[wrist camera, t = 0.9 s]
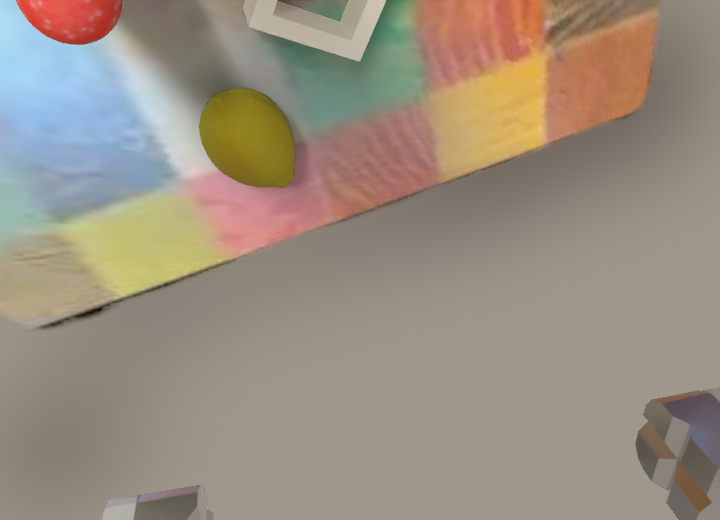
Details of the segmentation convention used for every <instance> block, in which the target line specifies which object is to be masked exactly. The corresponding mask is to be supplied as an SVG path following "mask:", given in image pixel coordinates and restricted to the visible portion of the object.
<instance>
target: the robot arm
mask: <svg viewBox="0 0 720 520" xmlns="http://www.w3.org/2000/svg"><path fill="white" fill-rule="evenodd" d="M643 415H644V416H645V417H646V419H647V420H648V422H647V423H646V424H645V425H644V426H643V427H642V428H641V429H640V430H639V431H638V435H637V439H636V443H635V444H636V449H637V455H638V459H639V461H640V463H641V465H642V468H643V470H644V471H645V473H646V474H647V475H648V477H649V478H650V480H651V481H652V482H653V483H655V484H657V485H659V486H661V487H662V488H664V489H666V490H667V498H666V500H667V501H666V502H667V504H668V506H669V507H670V508H671V510H672V511H673V513H674V514H675V515H676V517H677V518H678V519H679V520H720V387H718V388H713V389H707V390H702V391H693V392H688V393H683V394H678V395H673V396H668V397H663V398H658V399H653V400H651V401H650V402H649V403H648V404H646V407H645V410H644V413H643ZM102 520H215V518H214V515H213V513H212V512H211V511H209V510H207V494H206V491H205V489H204V486H203V485H197V486H191V487H185V488H179V489H173V490H166V491H160V492H154V493H147V494H142V495H135V496H129V497H124V498H119V499H113V500H109V502H108V504H107V506H106V508H105V510H104V513H103V517H102Z"/></svg>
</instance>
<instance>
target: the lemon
mask: <svg viewBox="0 0 720 520" xmlns="http://www.w3.org/2000/svg"><path fill="white" fill-rule="evenodd" d="M199 129H200V136H201V140H202V144H203V146H204V148H205V150H206V152H207V155H208V156H209V158H210V159H211V161H212V162H213V164H214V165H215V166H216V167H217V168H218V169H219V170H220V171H221V172H223V173H224V174H226V175H227V176H229V177H230V178H232V179H234V180H236V181H238V182H240V183H243V184H246V185H250V186H256V187H285V186H287V185H288V184H289V183H291V181H292V180H293V178H294V174H295V168H294V162H295V144H294V138H293V134H292V130H291V128H290V125H289V122H288V120H287V119H286V117H285V115H284V114H283V112H282V111H281V110H280V109H279V108H278V107H277V105H276V104H275V103H274V102H273V101H272V100H271V99H270V98H269V97H267V96H266V95H264V94H262V93H260V92H258V91H256V90H253V89H248V88H233V89H229V90H226V91H223V92H221V93H218V94H214V95H213V96H212V99H211V100H210V101H209V102H208V103H207V105H206V107H205V109H204V111H203V113H202V115H201V119H200V124H199Z"/></svg>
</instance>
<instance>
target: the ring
mask: <svg viewBox="0 0 720 520" xmlns="http://www.w3.org/2000/svg"><path fill="white" fill-rule="evenodd" d="M385 2H386V0H348V2H347V4H346V7H345V9H344V12H343V15H342V17H341V20H340V21H337V20H334V19H331V18H328V17H325V16H322V15H319V14H316V13H313V12H310V11H307V10H304V9H302V8H299V7H296V6H293V5H290V4H287V3H284V2H281V1H278V0H245V1H244V4H243V7H242V8H243V11H244V14H245V17H246V20H247V23H248V26H249V28H252V29H256V30H259V31H262V32H265V33H269V34H272V35H275V36H278V37H281V38H285V39H288V40H291V41H294V42H298V43H301V44H304V45H307V46H310V47H314V48H317V49H320V50H323V51H327V52H330V53H333V54H336V55H339V56H343V57H346V58H349V59H352V60H356V61H359V62H360V60H361V58H362V56H363V53H364V51H365V49H366V46H367V44H368V42H369V39H370V37H371V35H372V32H373V30H374V28H375V26H376V23H377V21H378V19H379V16H380V14H381V12H382V9H383V7H384V5H385Z"/></svg>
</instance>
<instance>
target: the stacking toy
mask: <svg viewBox="0 0 720 520" xmlns="http://www.w3.org/2000/svg"><path fill="white" fill-rule="evenodd" d="M16 1H17V4H18V6H19V7H20V9H21V11H22V13H23V14H24V16H25V17H26V18H27V20H28V21H29V22H30V23H31V24H32V25H33V26H34V27H35V28H36V29H38V30H39V31H40V32H41V33H42V34H44V35H46V36H47V37H49V38H52V39H54V40H56V41H59V42H62V43H67V44H75V45H83V44H88V43H92V42H95V41H97V40H99V39H101V38H103V37H104V36H106V35H107V34H108V33H109V32H110V31H111V30H112V29H113V28H114V26H115V25H116V23H117V21H118V19H119V17H120V13H121V9H122V0H16Z"/></svg>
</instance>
